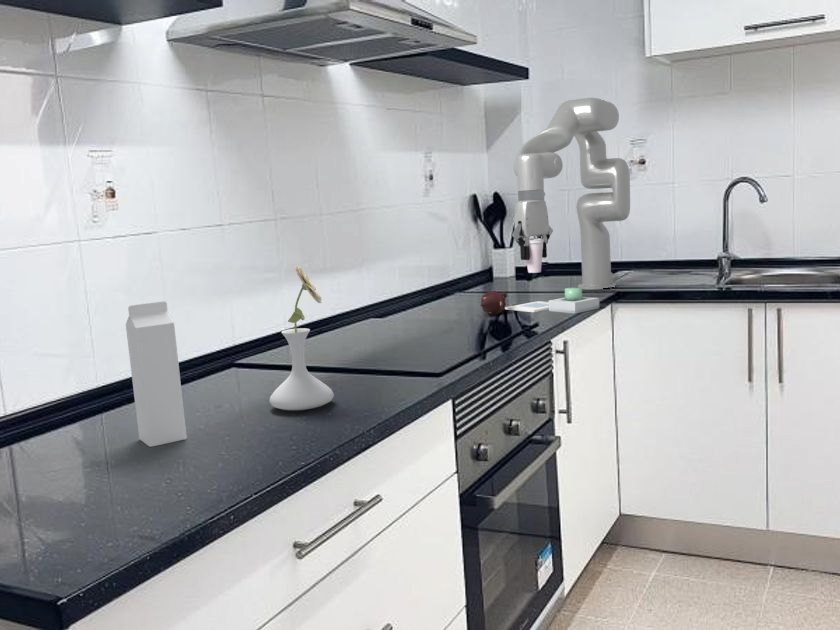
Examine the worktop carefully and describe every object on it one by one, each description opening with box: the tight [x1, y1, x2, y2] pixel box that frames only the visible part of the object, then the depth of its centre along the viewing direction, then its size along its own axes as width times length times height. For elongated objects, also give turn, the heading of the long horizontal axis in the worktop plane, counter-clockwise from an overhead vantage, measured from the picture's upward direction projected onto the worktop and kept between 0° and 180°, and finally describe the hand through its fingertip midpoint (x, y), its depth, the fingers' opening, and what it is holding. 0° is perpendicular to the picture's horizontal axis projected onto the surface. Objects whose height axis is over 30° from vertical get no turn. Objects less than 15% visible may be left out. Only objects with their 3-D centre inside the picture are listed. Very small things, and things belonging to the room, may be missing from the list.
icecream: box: [480, 290, 508, 316], centre depth 242 cm, size 7×7×15 cm
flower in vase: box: [269, 265, 335, 411], centre depth 149 cm, size 13×11×25 cm
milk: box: [125, 300, 188, 448], centre depth 134 cm, size 6×6×22 cm
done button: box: [564, 286, 583, 301], centre depth 240 cm, size 5×5×4 cm
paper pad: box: [504, 300, 549, 313], centre depth 250 cm, size 14×12×1 cm
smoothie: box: [524, 236, 544, 274], centre depth 247 cm, size 6×6×14 cm
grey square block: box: [548, 296, 600, 315], centre depth 241 cm, size 10×10×3 cm
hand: (533, 258), depth 248 cm, fingers closed on smoothie, 6 cm apart
